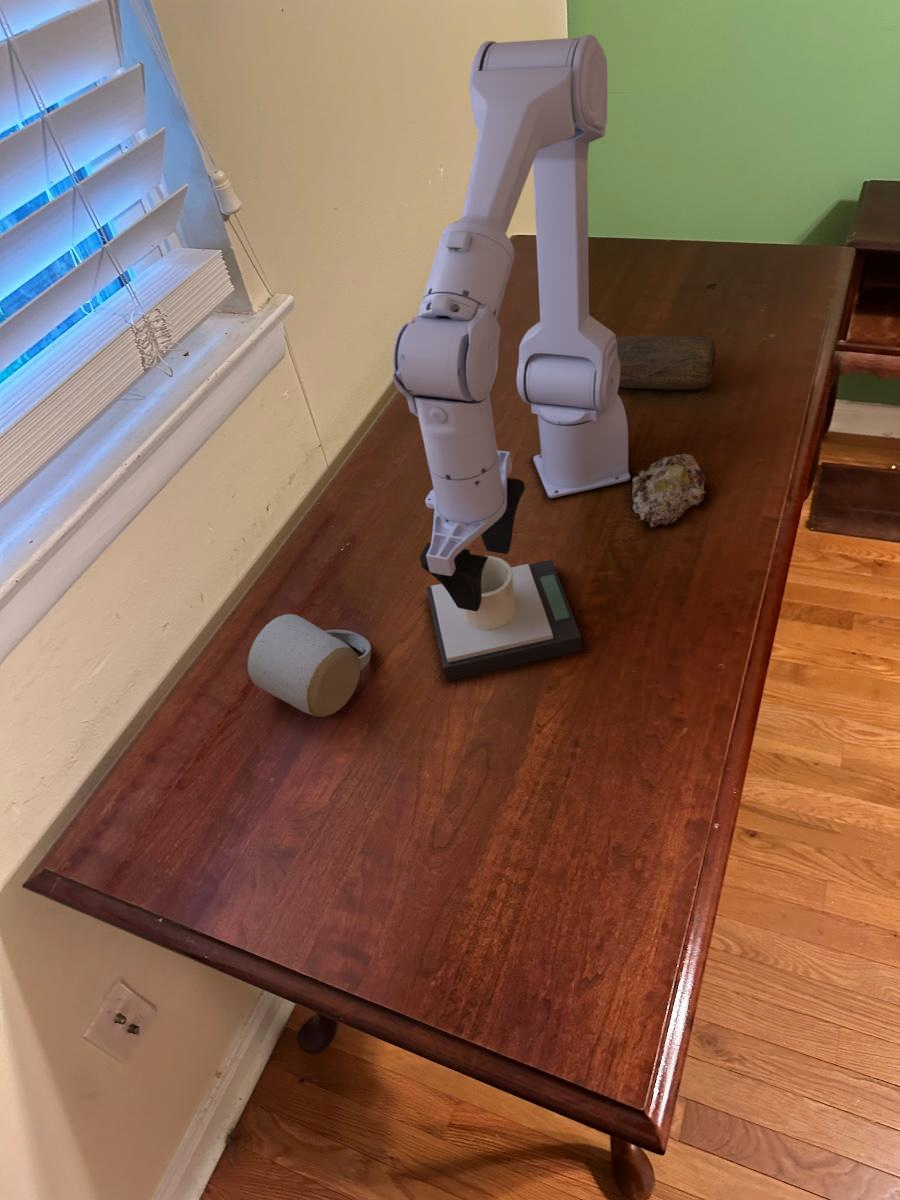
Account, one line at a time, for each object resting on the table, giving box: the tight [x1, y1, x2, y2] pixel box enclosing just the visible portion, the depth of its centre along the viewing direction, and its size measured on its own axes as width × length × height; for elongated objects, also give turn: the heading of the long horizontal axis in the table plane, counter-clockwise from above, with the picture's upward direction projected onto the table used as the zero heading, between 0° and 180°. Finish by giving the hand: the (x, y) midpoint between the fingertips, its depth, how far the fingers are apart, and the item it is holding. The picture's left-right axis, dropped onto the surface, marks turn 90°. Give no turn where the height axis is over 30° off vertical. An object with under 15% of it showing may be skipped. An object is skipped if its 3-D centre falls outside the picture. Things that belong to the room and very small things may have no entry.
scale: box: [426, 559, 583, 682], centre depth 83 cm, size 13×11×3 cm
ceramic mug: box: [247, 613, 372, 718], centre depth 79 cm, size 11×8×8 cm
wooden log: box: [616, 335, 717, 391], centre depth 106 cm, size 15×7×7 cm, turn 75°
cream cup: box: [460, 555, 517, 630], centre depth 80 cm, size 5×5×4 cm
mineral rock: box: [631, 453, 707, 528], centre depth 92 cm, size 11×4×8 cm
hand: (483, 577), depth 79 cm, fingers open, 7 cm apart
